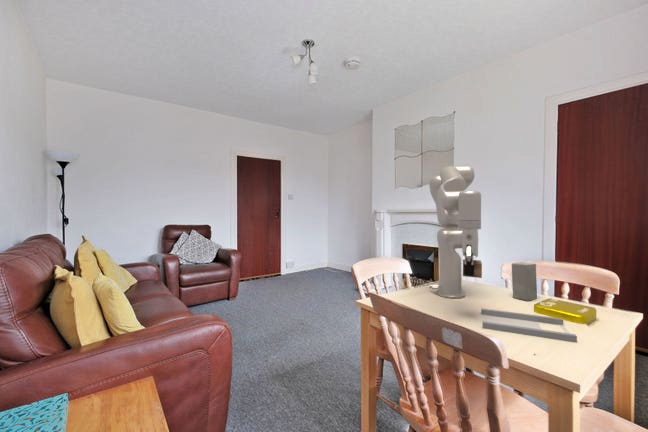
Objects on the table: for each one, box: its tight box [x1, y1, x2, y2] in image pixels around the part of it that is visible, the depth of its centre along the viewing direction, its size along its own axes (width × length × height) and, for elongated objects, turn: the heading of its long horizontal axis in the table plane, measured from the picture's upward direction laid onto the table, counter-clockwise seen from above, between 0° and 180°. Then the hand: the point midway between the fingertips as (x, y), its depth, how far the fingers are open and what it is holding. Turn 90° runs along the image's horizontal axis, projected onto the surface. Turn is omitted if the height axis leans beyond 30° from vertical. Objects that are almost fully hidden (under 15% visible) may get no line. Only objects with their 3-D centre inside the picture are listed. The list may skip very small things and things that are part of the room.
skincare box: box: [511, 261, 538, 302], centre depth 127 cm, size 8×7×16 cm
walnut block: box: [462, 258, 483, 279], centre depth 104 cm, size 6×6×5 cm
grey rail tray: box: [480, 307, 578, 343], centre depth 95 cm, size 24×15×3 cm, turn 63°
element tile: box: [533, 297, 597, 326], centre depth 105 cm, size 15×15×5 cm
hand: (469, 272), depth 105 cm, fingers closed on walnut block, 6 cm apart
